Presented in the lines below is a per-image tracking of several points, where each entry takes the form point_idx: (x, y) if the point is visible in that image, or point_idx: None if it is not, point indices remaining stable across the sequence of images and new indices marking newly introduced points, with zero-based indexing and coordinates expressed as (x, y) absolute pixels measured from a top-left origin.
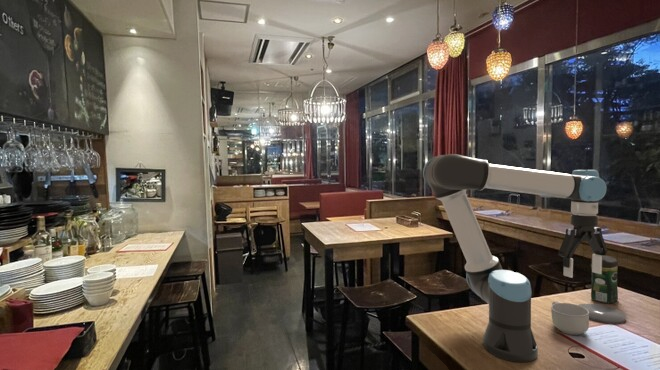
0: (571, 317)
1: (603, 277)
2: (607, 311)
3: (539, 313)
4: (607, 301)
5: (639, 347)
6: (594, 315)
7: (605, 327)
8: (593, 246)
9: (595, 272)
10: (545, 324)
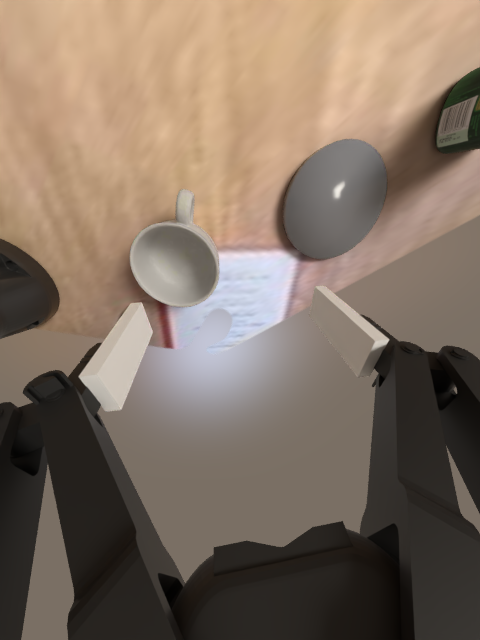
0: (155, 295)
1: None
2: (346, 216)
3: (185, 127)
4: (440, 148)
5: (245, 326)
6: (293, 225)
7: (269, 262)
8: (383, 424)
9: (312, 301)
10: (151, 207)
